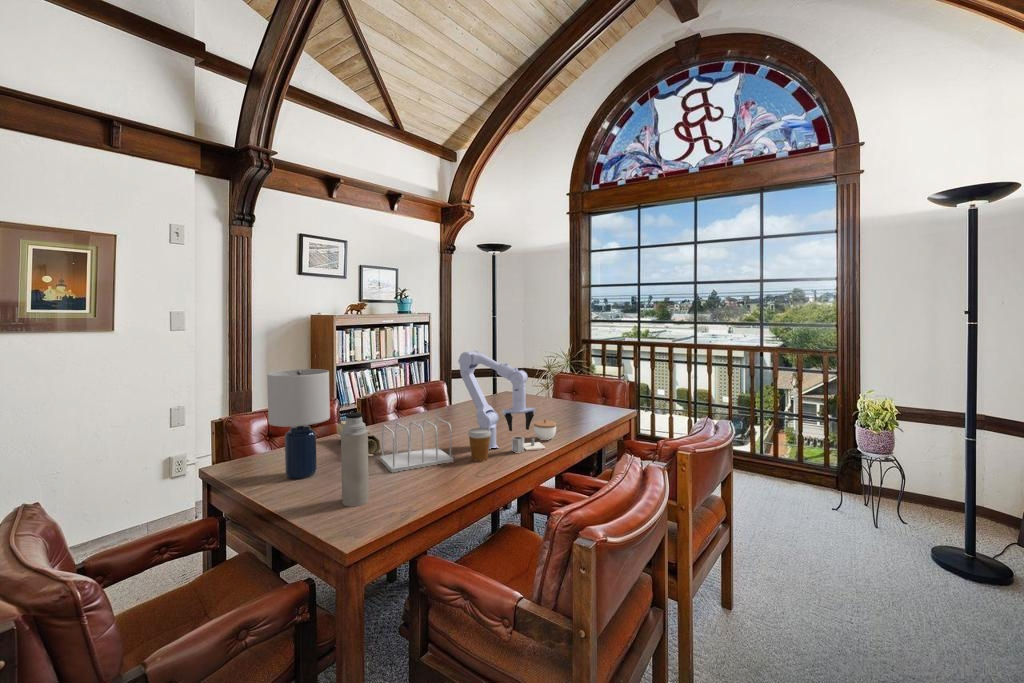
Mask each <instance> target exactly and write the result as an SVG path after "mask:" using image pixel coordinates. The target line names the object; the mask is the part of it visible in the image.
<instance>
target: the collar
mask: <svg viewBox="0 0 1024 683" xmlns="http://www.w3.org/2000/svg"><path fill="white" fill-rule="evenodd" d="M524 443H525V437H523V436H519V435H517V436H512V437H511V452H512V451H513V452H523V451H524V452H525V450H524ZM513 452H512V453H513ZM524 452H523V453H524Z"/></svg>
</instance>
